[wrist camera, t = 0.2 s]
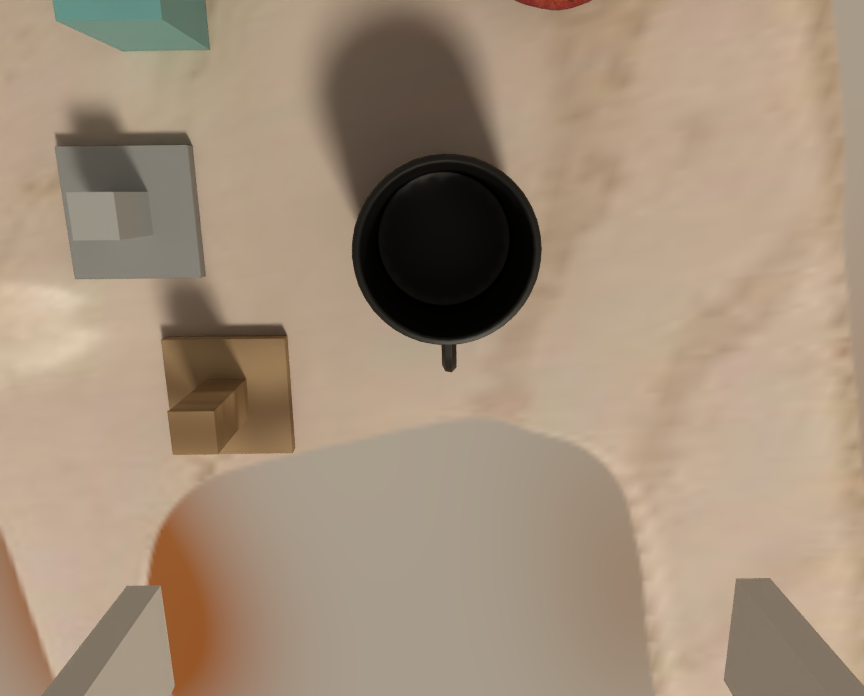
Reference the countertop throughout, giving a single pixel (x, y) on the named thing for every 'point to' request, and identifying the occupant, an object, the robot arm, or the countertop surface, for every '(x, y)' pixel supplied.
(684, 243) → the countertop surface
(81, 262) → the grey post
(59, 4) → the teal rectangular block
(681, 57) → the countertop surface
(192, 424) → the brown base with post
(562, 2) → the fruit
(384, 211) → the mug
